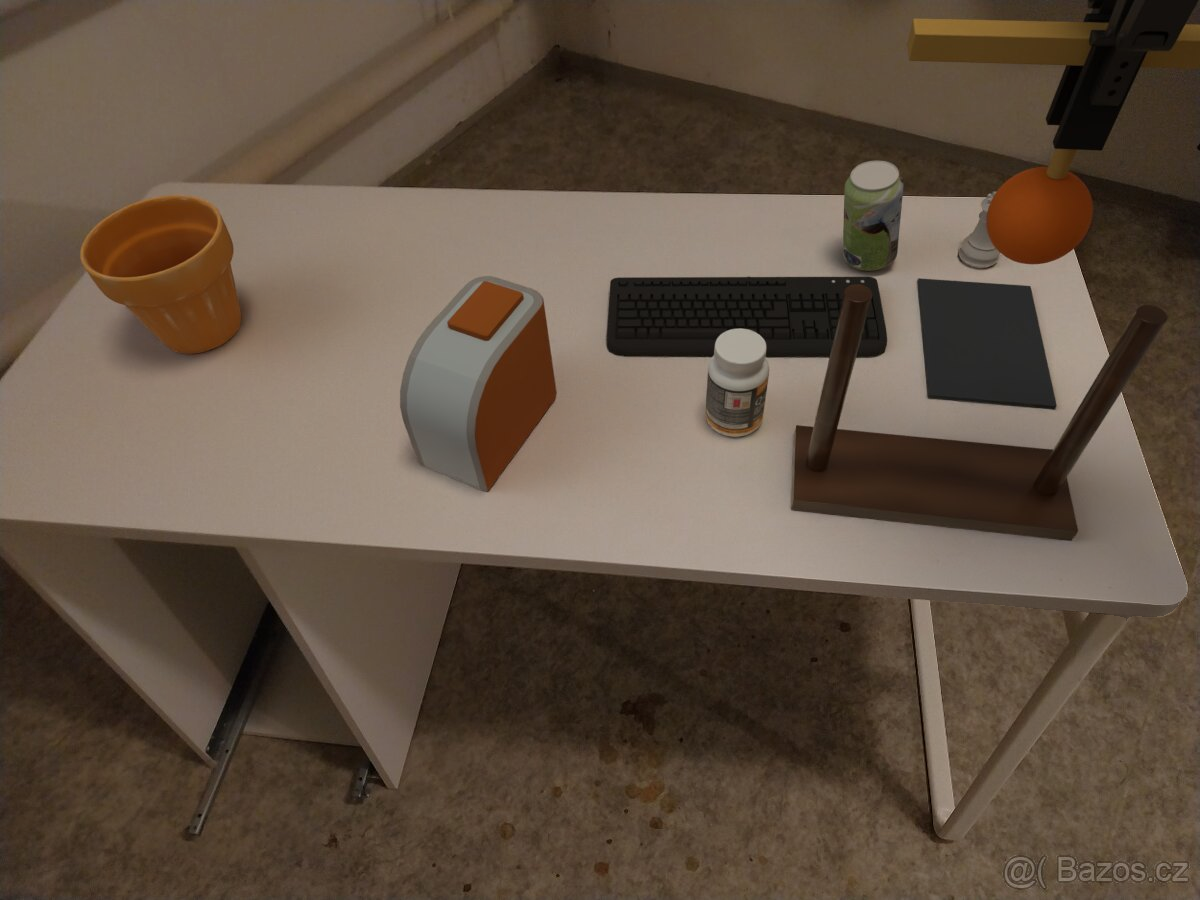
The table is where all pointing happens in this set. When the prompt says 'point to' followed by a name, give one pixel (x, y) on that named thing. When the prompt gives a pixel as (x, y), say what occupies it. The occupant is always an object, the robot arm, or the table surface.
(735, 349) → the pill bottle
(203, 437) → the table surface
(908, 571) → the table surface
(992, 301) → the slate mat
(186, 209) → the flower pot
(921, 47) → the ball on t-bar
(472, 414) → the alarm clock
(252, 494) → the table surface
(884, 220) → the beverage can
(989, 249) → the rook chess piece
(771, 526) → the table surface
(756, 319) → the keyboard
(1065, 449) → the hanger rack
